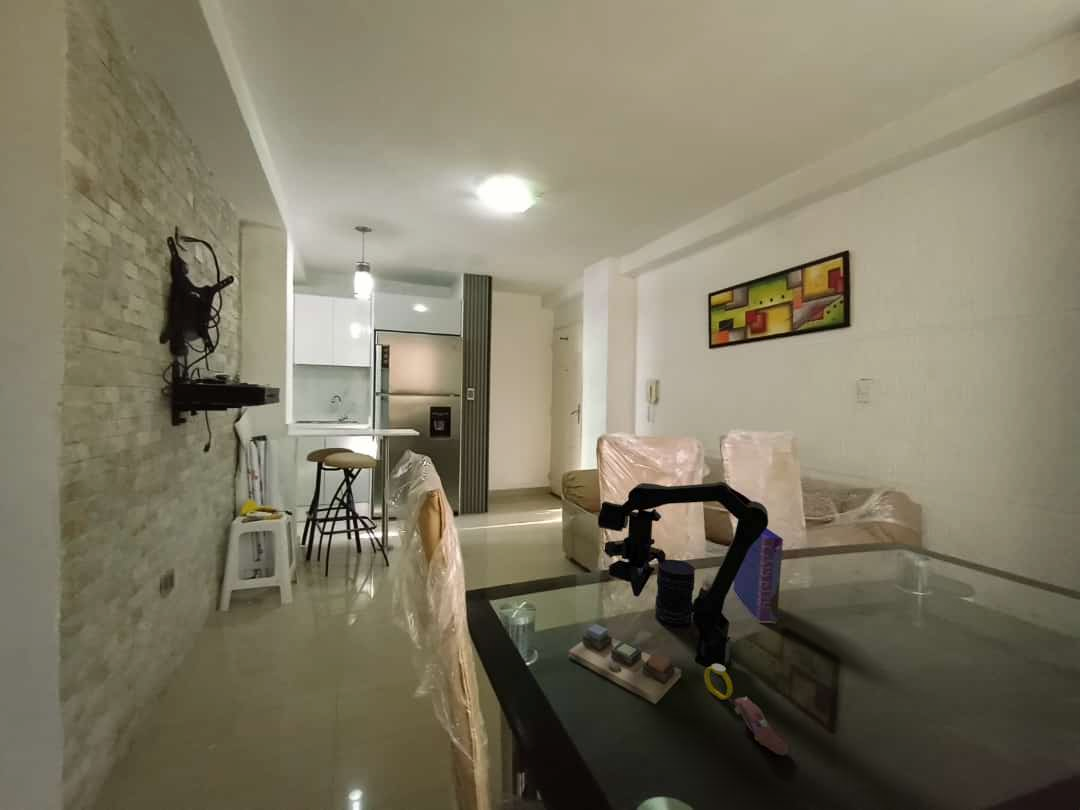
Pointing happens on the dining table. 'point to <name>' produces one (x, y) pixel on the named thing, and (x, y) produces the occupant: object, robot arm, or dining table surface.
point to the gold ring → (722, 670)
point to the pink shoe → (760, 726)
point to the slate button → (597, 632)
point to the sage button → (626, 650)
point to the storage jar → (674, 594)
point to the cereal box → (761, 577)
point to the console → (625, 667)
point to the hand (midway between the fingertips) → (636, 595)
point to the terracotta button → (659, 662)
